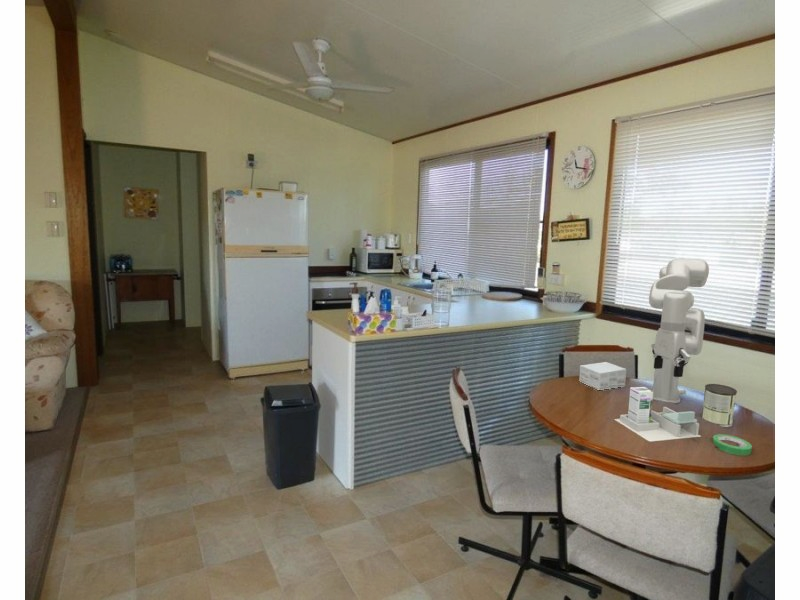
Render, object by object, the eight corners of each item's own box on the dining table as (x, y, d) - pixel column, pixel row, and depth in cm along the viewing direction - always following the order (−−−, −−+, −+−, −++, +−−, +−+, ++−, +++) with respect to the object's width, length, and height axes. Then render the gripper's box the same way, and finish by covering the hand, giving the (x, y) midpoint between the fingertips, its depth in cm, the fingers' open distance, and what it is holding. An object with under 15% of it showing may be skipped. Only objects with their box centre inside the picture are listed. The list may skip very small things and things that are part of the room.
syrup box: (636, 428, 169) (640, 391, 167) (626, 421, 175) (630, 386, 173) (650, 427, 170) (654, 391, 168) (640, 421, 176) (643, 385, 173)
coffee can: (697, 414, 185) (701, 382, 182) (727, 418, 181) (731, 385, 179) (705, 425, 175) (709, 390, 173) (736, 429, 172) (741, 394, 170)
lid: (681, 413, 171) (682, 404, 170) (696, 421, 164) (698, 412, 163) (661, 415, 169) (662, 406, 169) (677, 423, 162) (678, 413, 162)
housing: (661, 417, 182) (662, 404, 181) (701, 438, 163) (702, 424, 162) (613, 421, 177) (615, 408, 176) (649, 444, 159) (650, 429, 158)
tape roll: (752, 447, 158) (753, 440, 157) (749, 459, 149) (750, 452, 149) (714, 437, 165) (715, 431, 164) (709, 448, 157) (710, 441, 156)
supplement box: (604, 378, 229) (605, 361, 227) (625, 387, 217) (627, 368, 215) (578, 382, 223) (579, 364, 221) (598, 391, 211) (600, 372, 209)
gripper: (646, 322, 168) (641, 365, 171) (682, 332, 151) (676, 380, 154) (663, 321, 169) (659, 365, 172) (701, 331, 152) (695, 379, 155)
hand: (667, 372), depth 163 cm, fingers open, 9 cm apart
